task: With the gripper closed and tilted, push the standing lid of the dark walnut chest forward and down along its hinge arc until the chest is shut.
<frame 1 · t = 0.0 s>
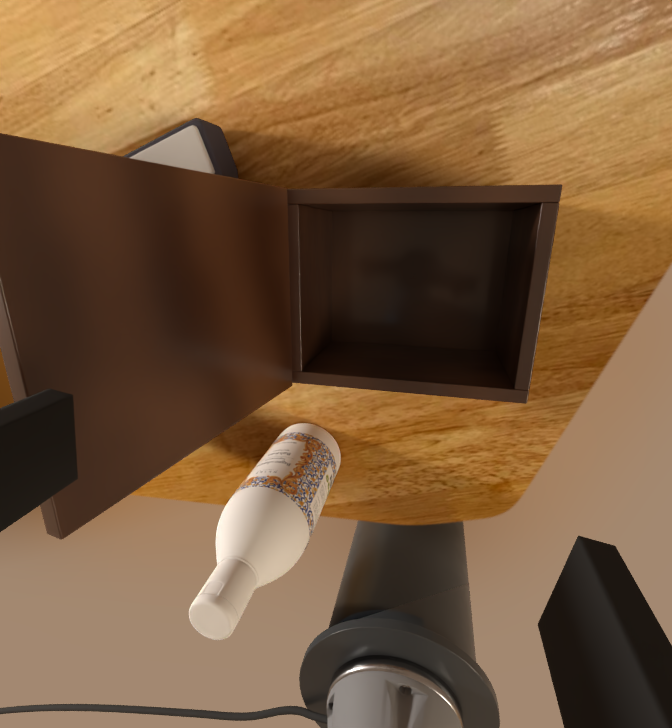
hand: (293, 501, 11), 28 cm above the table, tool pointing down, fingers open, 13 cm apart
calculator: (204, 235, 38), on the table
bath foam: (309, 450, 43), on the table
chest lid: (198, 315, 20), point 19 cm above the table, hinge at 100.0°
chest: (414, 280, 35), on the table
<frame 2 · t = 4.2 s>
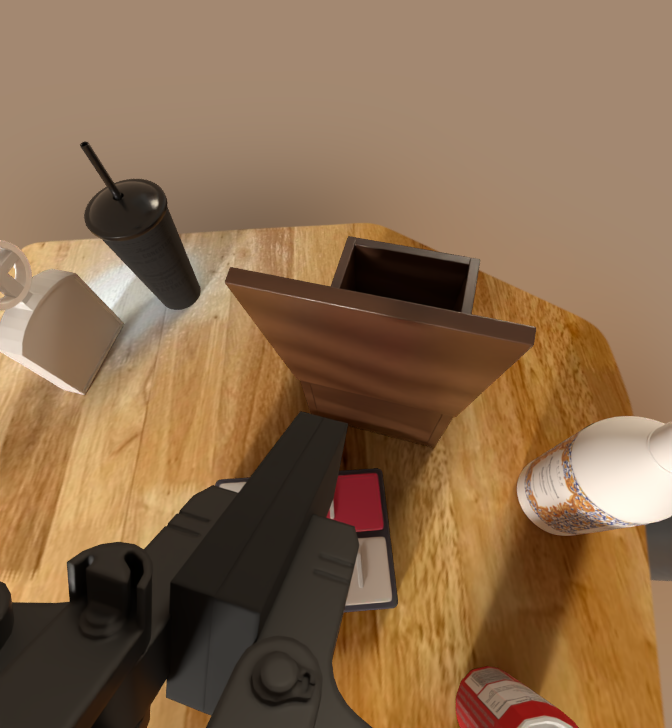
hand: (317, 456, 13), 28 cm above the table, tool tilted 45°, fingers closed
drinking cup: (181, 294, 51), on the table
gravestone: (95, 356, 48), on the table
soda can: (490, 707, 32), on the table
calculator: (305, 542, 38), on the table
bath foam: (552, 496, 38), on the table
chest lid: (373, 362, 25), point 19 cm above the table, hinge at 100.0°
chest: (388, 364, 45), on the table
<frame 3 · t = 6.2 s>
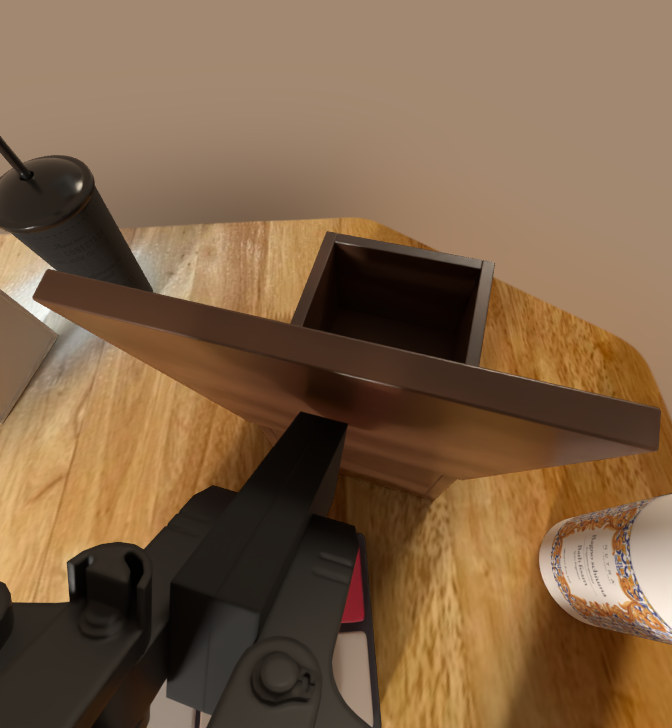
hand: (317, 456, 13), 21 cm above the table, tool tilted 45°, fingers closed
drinking cup: (131, 300, 42), on the table
gravestone: (21, 375, 39), on the table
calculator: (264, 626, 29), on the table
bath foam: (585, 569, 30), on the table
chest lid: (342, 418, 16), point 19 cm above the table, hinge at 99.4°, touching gripper
chest: (377, 390, 36), on the table
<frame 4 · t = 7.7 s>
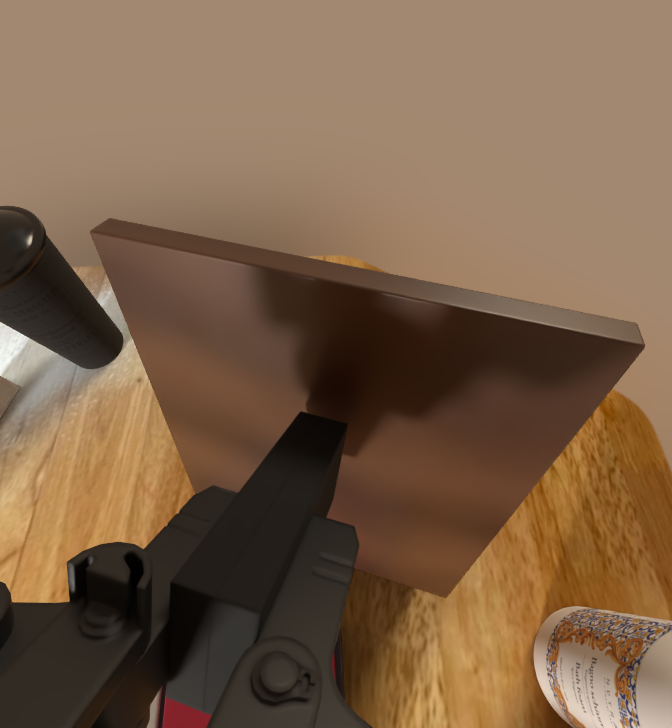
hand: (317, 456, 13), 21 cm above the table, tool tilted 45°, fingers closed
drinking cup: (99, 347, 40), on the table
bath foam: (584, 666, 27), on the table
chest lid: (328, 464, 15), point 18 cm above the table, hinge at 70.9°, touching gripper
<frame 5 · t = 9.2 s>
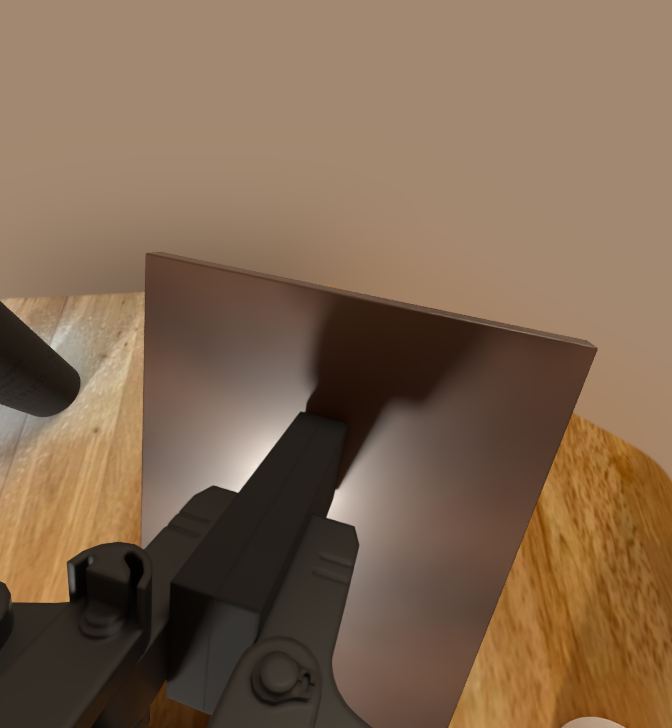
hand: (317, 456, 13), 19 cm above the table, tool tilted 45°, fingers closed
drinking cup: (54, 391, 36), on the table
chest lid: (310, 528, 14), point 16 cm above the table, hinge at 44.1°, touching gripper
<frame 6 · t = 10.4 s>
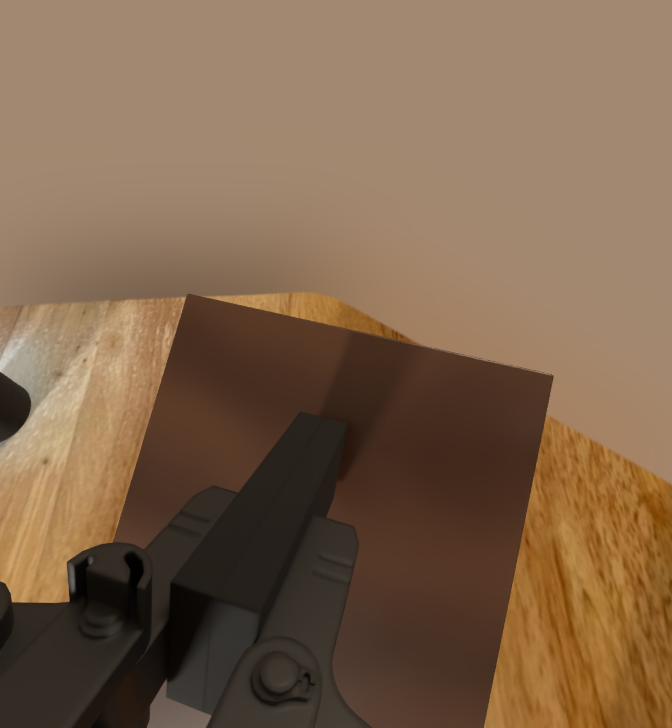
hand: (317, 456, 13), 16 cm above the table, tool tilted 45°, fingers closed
drinking cup: (1, 415, 31), on the table
chest lid: (296, 575, 14), point 13 cm above the table, hinge at 19.0°, touching gripper
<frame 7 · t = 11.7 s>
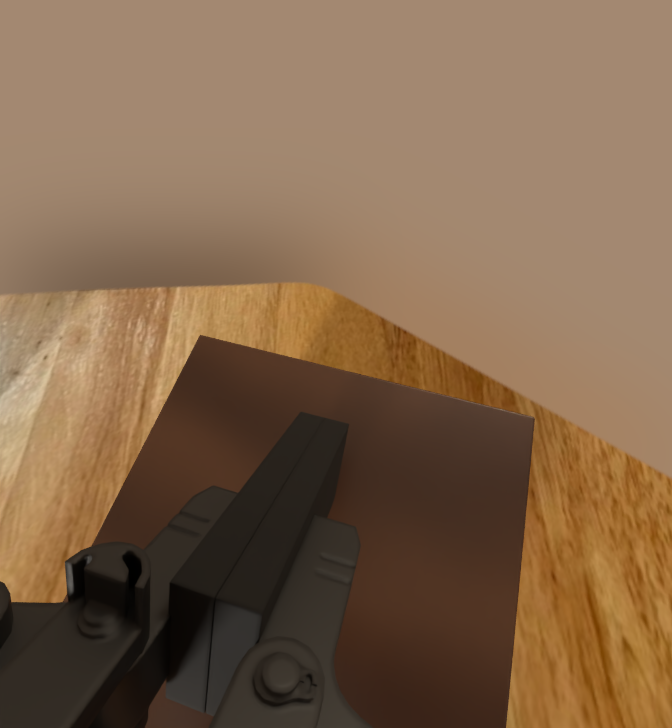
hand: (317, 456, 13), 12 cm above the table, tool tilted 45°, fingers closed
chest lid: (279, 623, 12), point 10 cm above the table, hinge at -0.2°, touching chest, gripper
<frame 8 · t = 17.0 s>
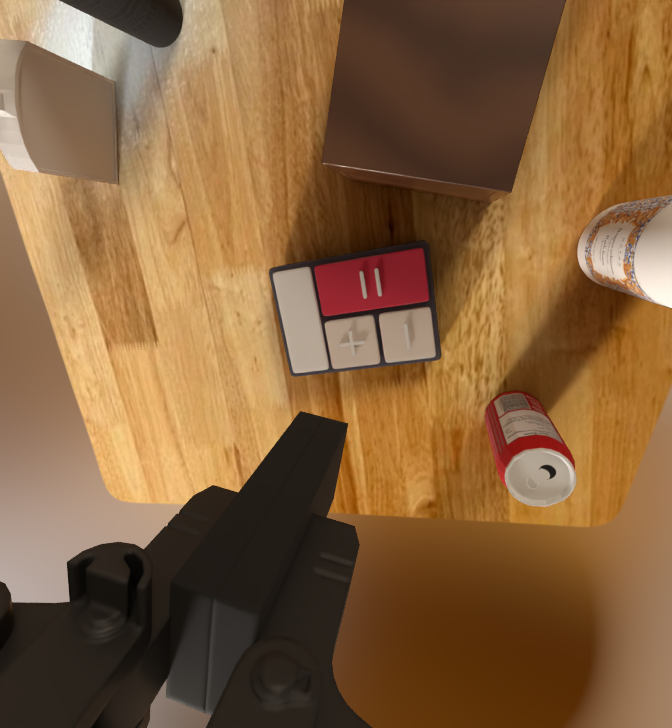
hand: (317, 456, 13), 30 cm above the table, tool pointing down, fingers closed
drinking cup: (161, 17, 38), on the table
gravestone: (106, 133, 43), on the table
soda can: (512, 413, 42), on the table
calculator: (359, 307, 42), on the table
bath foam: (619, 245, 35), on the table
chest lid: (443, 31, 25), point 10 cm above the table, hinge at -0.2°, touching chest
chest: (440, 92, 35), on the table
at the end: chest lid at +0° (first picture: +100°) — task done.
